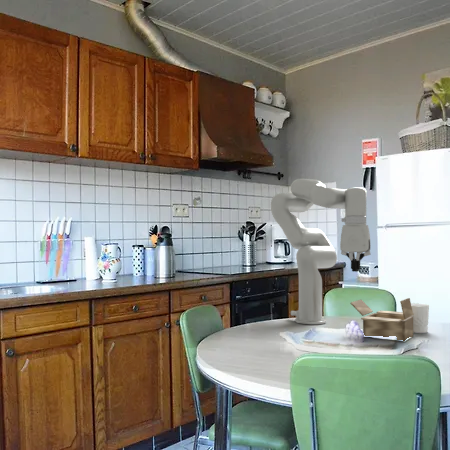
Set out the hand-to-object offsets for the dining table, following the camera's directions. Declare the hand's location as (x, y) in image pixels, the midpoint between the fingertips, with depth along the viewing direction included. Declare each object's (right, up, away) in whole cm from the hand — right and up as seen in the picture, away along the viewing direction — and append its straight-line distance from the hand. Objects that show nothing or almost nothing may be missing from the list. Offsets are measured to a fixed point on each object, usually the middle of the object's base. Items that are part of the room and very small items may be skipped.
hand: (355, 271), depth 174 cm
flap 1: (+4, -15, -3) cm, 16 cm away
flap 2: (+15, -15, -11) cm, 24 cm away
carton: (+9, -22, -8) cm, 25 cm away
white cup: (+24, -23, +3) cm, 33 cm away
